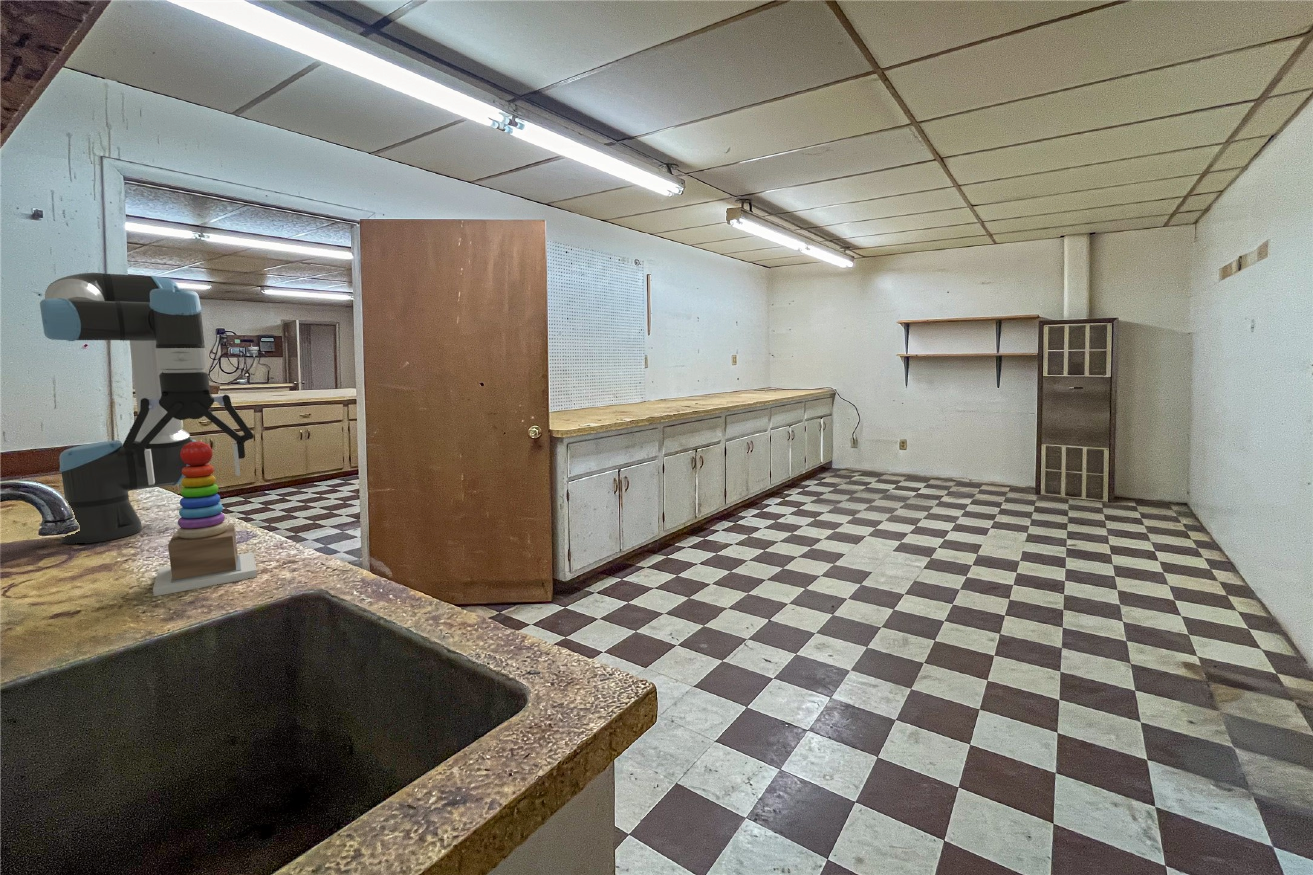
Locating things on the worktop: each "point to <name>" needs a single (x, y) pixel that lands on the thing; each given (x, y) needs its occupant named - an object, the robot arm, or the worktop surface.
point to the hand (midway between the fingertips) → (196, 479)
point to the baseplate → (204, 577)
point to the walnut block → (203, 554)
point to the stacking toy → (199, 495)
